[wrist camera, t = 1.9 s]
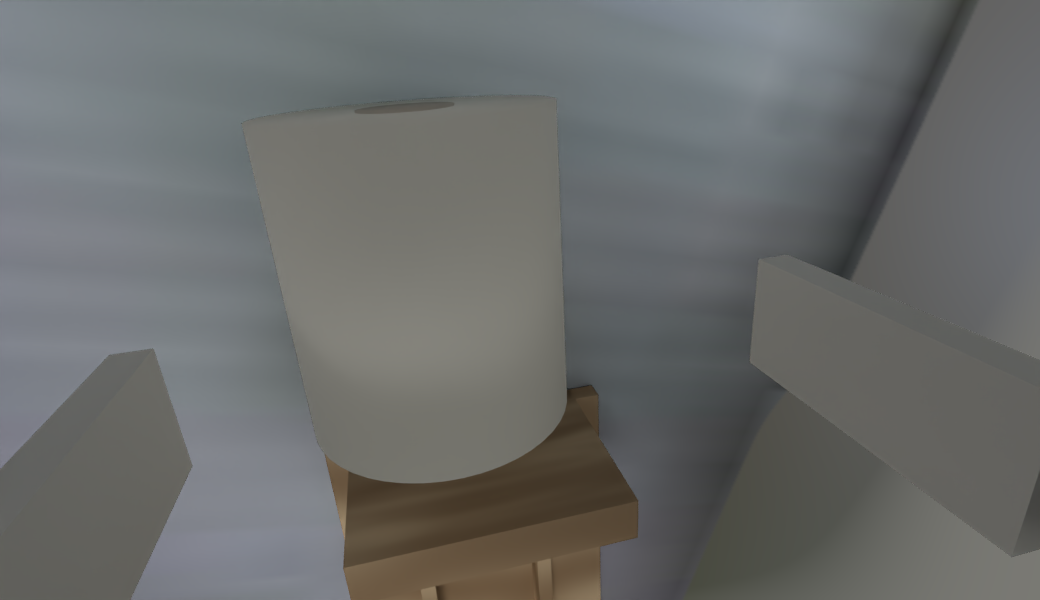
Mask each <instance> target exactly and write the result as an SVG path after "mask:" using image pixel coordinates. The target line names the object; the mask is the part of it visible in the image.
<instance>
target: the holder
mask: <svg viewBox="0 0 1040 600" xmlns="http://www.w3.org/2000/svg"><path fill="white" fill-rule="evenodd" d="M325 458H326V462H327V466H328V470H329V475H330V479H331V483H332V488H333V492H334V496H335V500H336V505H337V509H338V513H339V518H340V522H341V526H342V530H343V535H344V539H345V547H344V566H343V569H344V573H345V577H346V581H347V586H348V590H349V594H350V598H351V600H601V598H600V546H604V545H608V544H613V543H617V542H621V541H625V540H629V539H633V538H638V500H637V498H636V496H635V495H634V493H633V492H632V490H631V488H630V487H629V485H628V484H627V482H626V480H625V479H624V477H623V475H622V474H621V472H620V471H619V469H618V467H617V466H616V464H615V463H614V461H613V459H612V458H611V456H610V454H609V453H608V451H607V450H606V448H605V446H604V445H603V443H602V442H601V440H600V438H599V419H598V394H597V392H596V391H595V389H594V388H593V387H592V385H590V386H585V387H579V388H574V389H569V390H567V404H566V409H565V412H564V415H563V417H562V419H561V421H560V422H559V424H558V425H557V427H556V428H555V429H554V431H553V432H552V433H551V434H550V435H549V436H548V437H547V438H546V439H545V440H544V441H543V442H542V443H540V444H539V445H538V446H536V447H535V448H534V449H533V450H531V451H529V452H528V453H526V454H524V455H523V456H521V457H519V458H518V459H516V460H514V461H512V462H509V463H507V464H505V465H503V466H501V467H498V468H495V469H493V470H490V471H487V472H484V473H481V474H477V475H473V476H470V477H466V478H461V479H456V480H450V481H444V482H433V483H395V482H385V481H380V480H375V479H370V478H366V477H363V476H360V475H357V474H354V473H352V472H350V471H348V470H346V469H344V468H342V467H340V466H338V465H337V464H336V463H334V462H333V461H331V460H330V459H329V458H328V457H327V456H326V455H325Z"/></svg>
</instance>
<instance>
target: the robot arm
mask: <svg viewBox="0 0 1040 600" xmlns="http://www.w3.org/2000/svg"><path fill="white" fill-rule="evenodd" d="M750 363H751V364H753V365H754V366H755V367H757V368H758V369H759V370H761V371H762V372H763V373H765V374H766V375H767V376H769V377H770V378H771V379H773V380H774V381H776V382H777V383H778V384H780V385H781V386H782V387H784V388H785V389H786V390H788V391H789V392H790V393H792V394H793V395H794V396H796V397H797V398H798V399H800V400H801V401H802V402H804V403H805V404H806V405H808V406H809V407H811V408H812V409H813V410H815V411H816V412H817V413H819V414H820V415H821V416H823V417H824V418H825V419H827V420H828V421H829V422H831V423H832V424H833V425H835V426H836V427H837V428H839V429H840V430H841V431H843V432H844V433H845V434H847V435H848V436H849V437H851V438H852V439H854V440H855V441H856V442H858V443H859V444H860V445H862V446H863V447H865V448H866V449H867V450H868V451H870V452H871V453H872V454H874V455H875V456H876V457H878V458H879V459H880V460H882V461H883V462H885V463H886V464H887V465H888V466H890V467H891V468H893V469H894V470H895V471H897V472H898V473H900V474H901V475H902V476H903V477H905V478H906V479H907V480H909V481H910V482H911V483H913V484H914V485H915V486H917V487H918V488H919V489H921V490H922V491H923V492H925V493H926V494H928V495H929V496H930V497H931V498H933V499H934V500H936V501H937V502H938V503H940V504H941V505H942V506H944V507H945V508H946V509H948V510H949V511H951V512H952V513H953V514H954V515H956V516H957V517H958V518H960V519H961V520H962V521H964V522H965V523H967V524H968V525H969V526H970V527H972V528H973V529H975V530H976V531H977V532H979V533H980V534H981V535H983V536H984V537H985V538H987V539H988V540H989V541H991V542H992V543H993V544H995V545H996V546H997V547H999V548H1000V549H1002V550H1003V551H1004V552H1005V553H1007V554H1008V555H1010V556H1011V557H1014V556H1018V555H1021V554H1025V553H1028V552H1032V551H1035V550H1039V549H1040V360H1039V359H1036V358H1034V357H1031V356H1029V355H1027V354H1024V353H1022V352H1019V351H1017V350H1014V349H1012V348H1010V347H1007V346H1005V345H1002V344H1000V343H998V342H995V341H993V340H991V339H988V338H986V337H983V336H981V335H978V334H976V333H974V332H972V331H969V330H967V329H964V328H962V327H959V326H957V325H955V324H952V323H950V322H948V321H945V320H943V319H940V318H938V317H935V316H933V315H931V314H928V313H926V312H924V311H921V310H919V309H916V308H914V307H911V306H909V305H907V304H904V303H902V302H900V301H897V300H895V299H892V298H890V297H888V296H885V295H883V294H881V293H878V292H876V291H873V290H871V289H869V288H866V287H864V286H861V285H859V284H857V283H854V282H852V281H849V280H847V279H845V278H842V277H840V276H837V275H835V274H833V273H830V272H828V271H825V270H823V269H821V268H818V267H816V266H813V265H811V264H809V263H806V262H804V261H801V260H799V259H797V258H794V257H792V256H790V255H781V256H774V257H767V258H761V259H759V262H758V273H757V284H756V295H755V306H754V318H753V329H752V340H751V351H750ZM191 468H192V463H191V460H190V457H189V454H188V451H187V448H186V445H185V442H184V439H183V436H182V433H181V430H180V427H179V424H178V421H177V418H176V415H175V412H174V409H173V406H172V403H171V400H170V397H169V394H168V391H167V388H166V385H165V382H164V379H163V376H162V373H161V370H160V367H159V364H158V361H157V358H156V355H155V352H154V349H147V350H140V351H133V352H127V353H120V354H113V355H109V356H108V357H107V358H106V359H105V360H104V361H103V362H102V363H101V364H100V365H99V366H98V367H97V369H96V370H95V371H94V372H93V373H92V374H91V375H90V376H89V377H88V378H87V379H86V380H85V381H84V382H83V383H82V384H81V385H80V386H79V387H78V388H77V389H76V391H75V392H74V393H73V394H72V395H71V396H70V397H69V398H68V399H67V400H66V401H65V402H64V403H63V404H62V405H61V406H60V407H59V408H58V409H57V410H56V411H55V412H54V414H53V415H52V416H51V417H50V418H49V419H48V420H47V421H46V422H45V423H44V424H43V425H42V426H41V427H40V428H39V429H38V430H37V431H36V432H35V433H34V434H33V435H32V437H31V438H30V439H29V440H28V441H27V442H26V443H25V444H24V445H23V446H22V447H21V448H20V449H19V450H18V451H17V452H16V453H15V454H14V455H13V456H12V457H11V458H10V460H9V461H8V462H7V463H6V464H5V465H4V466H3V467H2V468H1V469H0V600H130V599H131V597H132V595H133V593H134V591H135V588H136V586H137V584H138V582H139V580H140V578H141V576H142V573H143V571H144V569H145V567H146V565H147V563H148V561H149V558H150V556H151V554H152V552H153V550H154V548H155V545H156V543H157V541H158V539H159V537H160V535H161V533H162V530H163V528H164V526H165V524H166V522H167V520H168V517H169V515H170V513H171V511H172V509H173V507H174V505H175V502H176V500H177V498H178V496H179V494H180V492H181V490H182V487H183V485H184V483H185V481H186V479H187V477H188V474H189V472H190V470H191Z"/></svg>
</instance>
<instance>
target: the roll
mask: <svg viewBox="0 0 1040 600" xmlns="http://www.w3.org/2000/svg"><path fill="white" fill-rule="evenodd" d="M241 124H242V128H243V132H244V136H245V141H246V145H247V149H248V153H249V157H250V162H251V166H252V170H253V174H254V179H255V183H256V187H257V191H258V195H259V200H260V204H261V208H262V212H263V216H264V221H265V225H266V229H267V233H268V237H269V242H270V246H271V250H272V254H273V259H274V263H275V267H276V271H277V275H278V280H279V284H280V288H281V292H282V296H283V301H284V305H285V309H286V313H287V317H288V322H289V326H290V330H291V334H292V338H293V343H294V347H295V351H296V355H297V360H298V364H299V368H300V372H301V376H302V381H303V385H304V389H305V393H306V397H307V402H308V406H309V410H310V414H311V418H312V423H313V427H314V431H315V435H316V439H317V442H318V444H319V446H320V448H321V449H322V451H323V452H324V453H325V455H326V456H327V457H328V458H329V459H330V460H331V461H333V462H334V463H336V464H337V465H338V466H340V467H342V468H344V469H346V470H348V471H350V472H352V473H354V474H357V475H360V476H363V477H366V478H370V479H375V480H380V481H385V482H395V483H433V482H444V481H450V480H456V479H461V478H466V477H470V476H473V475H477V474H481V473H484V472H487V471H490V470H493V469H495V468H498V467H501V466H503V465H505V464H507V463H509V462H512V461H514V460H516V459H518V458H519V457H521V456H523V455H524V454H526V453H528V452H529V451H531V450H533V449H534V448H535V447H536V446H538V445H539V444H540V443H542V442H543V441H544V440H545V439H546V438H547V437H548V436H549V435H550V434H551V433H552V432H553V431H554V429H555V428H556V427H557V425H558V424H559V422H560V421H561V419H562V417H563V415H564V412H565V409H566V404H567V382H566V354H565V326H564V297H563V269H562V240H561V212H560V183H559V155H558V127H557V99H556V98H554V97H548V96H536V95H493V96H465V97H446V98H429V99H414V100H402V101H389V102H377V103H366V104H355V105H345V106H336V107H327V108H318V109H310V110H302V111H295V112H288V113H281V114H275V115H269V116H264V117H259V118H255V119H251V120H247V121H245V122H243V123H241Z"/></svg>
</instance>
